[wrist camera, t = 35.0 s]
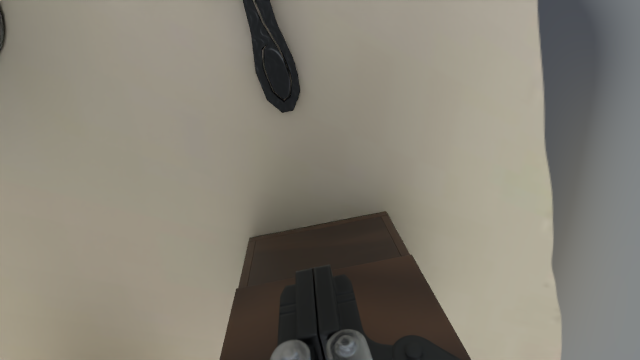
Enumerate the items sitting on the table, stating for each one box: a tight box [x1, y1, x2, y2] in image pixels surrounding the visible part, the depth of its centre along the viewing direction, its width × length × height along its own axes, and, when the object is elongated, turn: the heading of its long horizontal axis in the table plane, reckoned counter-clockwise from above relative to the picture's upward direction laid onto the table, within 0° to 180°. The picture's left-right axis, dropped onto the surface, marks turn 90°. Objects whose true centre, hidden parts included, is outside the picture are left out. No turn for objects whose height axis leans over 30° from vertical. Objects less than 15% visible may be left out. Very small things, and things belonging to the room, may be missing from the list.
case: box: [238, 212, 410, 288], centre depth 35 cm, size 17×15×8 cm
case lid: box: [220, 255, 471, 360], centre depth 19 cm, size 17×15×5 cm
